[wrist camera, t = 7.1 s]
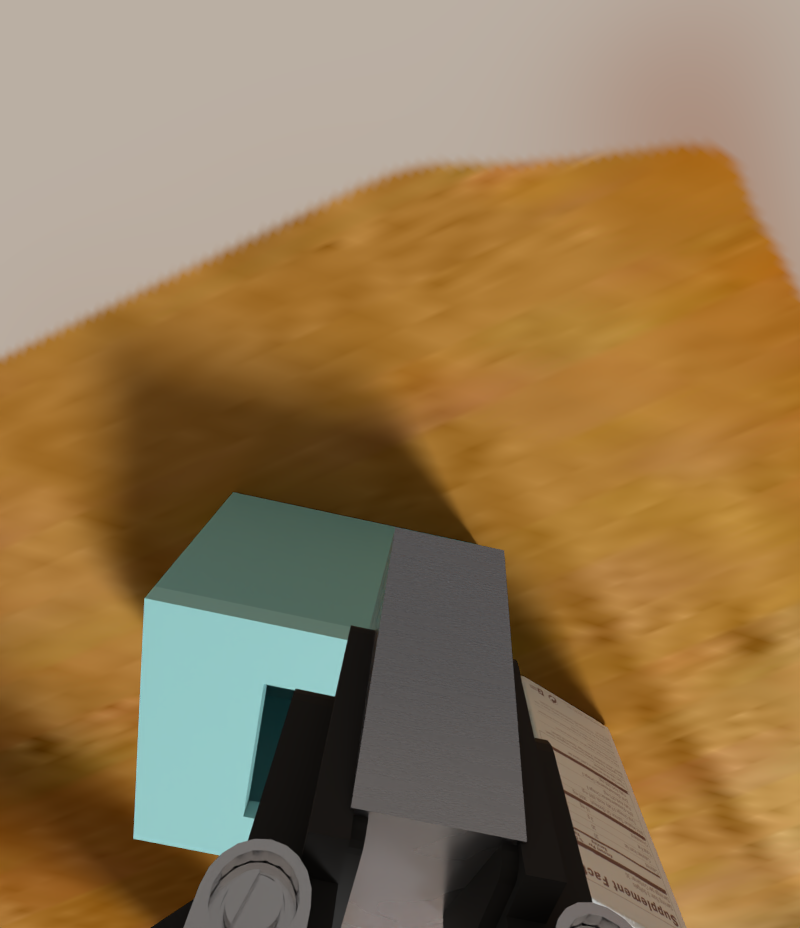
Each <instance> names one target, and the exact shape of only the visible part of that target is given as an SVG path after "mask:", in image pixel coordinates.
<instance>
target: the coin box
mask: <svg viewBox="0 0 800 928" xmlns="http://www.w3.org/2000/svg"><path fill="white" fill-rule="evenodd" d="M396 528H398V527H396ZM401 529H403V528H401ZM394 530H395V527H394V526H389V525H384V524H380V523H375V522H370V521H366V520H361V519H356V518H352V517H347V516H342V515H338V514H333V513H328V512H324V511H319V510H314V509H310V508H305V507H300V506H296V505H291V504H286V503H282V502H277V501H272V500H268V499H263V498H258V497H254V496H249V495H244V494H240V493H235V492H233V493H232V494H231V495H230V497H229V498H228V499H227V500H226V501H225V502H224V504H223V505H222V506H221V507H220V508H219V510H218V511H217V512H216V513H215V514H214V516H213V517H212V518H211V519H210V520H209V522H208V523H207V524H206V525H205V526H204V528H203V529H202V530H201V531H200V532H199V534H198V535H197V536H196V537H195V538H194V540H193V541H192V542H191V543H190V544H189V546H188V547H187V548H186V549H185V550H184V552H183V553H182V554H181V555H180V556H179V558H178V559H177V560H176V561H175V562H174V563H173V565H172V566H171V567H170V568H169V569H168V571H167V572H166V573H165V574H164V575H163V577H162V578H161V579H160V580H159V581H158V583H157V584H156V585H155V586H154V587H153V589H152V590H151V591H150V592H149V593H148V595H147V596H146V597H145V598H144V620H143V641H142V663H141V685H140V706H139V728H138V750H137V771H136V793H135V815H134V836H133V839H137V840H143V841H148V842H153V843H158V844H163V845H169V846H174V847H179V848H184V849H189V850H195V851H200V852H205V853H210V854H215V855H221V854H222V853H223V852H225V851H226V850H228V849H230V848H231V847H233V846H234V845H236V844H238V843H241V842H245V841H248V838H249V835H250V832H251V828H252V825H253V822H254V819H255V816H256V812H257V809H258V806H259V803H260V799H261V796H262V793H263V790H264V786H265V783H266V780H267V777H268V774H269V770H270V767H271V764H272V761H273V757H274V754H275V751H276V748H277V745H278V741H279V738H280V735H281V732H282V728H283V725H284V722H285V719H286V716H287V712H288V709H289V706H290V703H291V699H292V696H293V693H294V691H295V688H296V689H301V690H305V691H310V692H315V693H320V694H325V695H330V696H335V694H336V689H337V685H338V680H339V676H340V671H341V667H342V662H343V658H344V653H345V649H346V644H347V640H348V635H349V631H350V627H351V625H352V626H357V627H362V628H367V629H369V627H370V623H371V619H372V615H373V611H374V608H375V604H376V600H377V596H378V592H379V588H380V584H381V581H382V577H383V573H384V569H385V565H386V561H387V557H388V553H389V550H390V546H391V542H392V538H393V534H394ZM406 530H408V529H406ZM410 531H412V530H410ZM415 532H417V531H415ZM420 533H422V532H420ZM424 534H426V533H424ZM429 535H431V534H429ZM434 536H436V535H434ZM438 537H440V536H438ZM443 538H445V537H443ZM448 539H450V538H448ZM453 540H454V539H453ZM457 541H459V540H457ZM462 542H464V541H462ZM467 543H468V542H467ZM471 544H473V543H471ZM476 545H477V544H476Z"/></svg>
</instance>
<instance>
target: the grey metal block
mask: <svg viewBox="0 0 800 928" xmlns="http://www.w3.org/2000/svg"><path fill="white" fill-rule="evenodd" d="M369 629H371V630H375V635H374V643H373V650H372V657H371V664H370V671H369V679H368V686H367V693H366V700H365V707H364V715H363V722H362V729H361V736H360V743H359V751H358V758H357V765H356V772H355V779H354V787H353V794H352V801H351V808H350V809H351V810H354V815H358V816H363V817H368V825H367V832H366V837H365V843H364V848H363V852H362V856H361V859H360V863H359V866H358V870H357V873H356V877H355V880H354V884H353V887H352V891H351V894H350V898H349V901H348V905H347V908H346V912H345V915H344V919H343V922H342V926H341V928H443V913H444V912H445V911H446V910H447V908H448V907H449V906H450V905H451V904H452V902H453V901H454V900H455V899H456V898H457V896H458V895H459V894H460V893H461V892H462V890H463V889H464V888H465V887H466V886H467V884H468V883H469V882H470V881H471V880H472V878H473V877H474V876H475V875H476V874H477V872H478V871H479V870H480V869H481V868H482V866H483V865H484V864H485V863H486V862H487V860H488V859H489V858H490V857H491V856H492V854H493V853H494V852H495V851H496V850H497V848H498V847H499V846H500V845H501V844H506V845H511V846H516V847H518V845H519V844H520V843H524V844H526V843H527V835H526V822H525V810H524V797H523V785H522V772H521V759H520V747H519V734H518V721H517V709H516V696H515V684H514V671H513V658H512V646H511V633H510V620H509V608H508V595H507V583H506V570H505V557H504V550H499V549H495V548H490V547H485V546H481V545H476V544H471V543H467V542H462V541H457V540H453V539H448V538H443V537H438V536H434V535H429V534H424V533H420V532H415V531H410V530H406V529H401V528H396V527H395V530H394V534H393V538H392V542H391V546H390V550H389V553H388V557H387V561H386V565H385V569H384V573H383V577H382V581H381V584H380V588H379V592H378V596H377V600H376V604H375V608H374V611H373V615H372V619H371V623H370V627H369Z"/></svg>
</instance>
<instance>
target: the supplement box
mask: <svg viewBox="0 0 800 928" xmlns="http://www.w3.org/2000/svg"><path fill="white" fill-rule="evenodd" d="M521 680H522V685H523V689H524V693H525V698H526V702H527V707H528V711H529V716H530V720H531V725H532V729H533V733H534V738H539V739H544V740H548V741H549V743H550V744H551V745H552V748H553V751H554V754H555V758H556V762H557V766H558V770H559V773H560V777H561V781H562V785H563V789H564V793H565V797H566V801H567V804H568V808H569V812H570V816H571V820H572V824H573V828H574V832H575V835H576V839H577V843H578V847H579V851H580V855H581V859H582V863H583V866H584V870H585V874H586V878H587V882H588V886H589V890H590V893H591V897H592V901H593V903H595V904H598V905H601V906H604V907H607V908H609V909H610V910H612V911H613V912H615V913H616V914H618V915H619V916H621V917H622V918H624V919H625V920H626V921H627V922H628V923H629V924H630V925H631V926H632V927H633V928H686V926H685V923H684V921H683V918H682V916H681V913H680V910H679V908H678V905H677V903H676V900H675V898H674V895H673V893H672V890H671V888H670V885H669V882H668V880H667V877H666V875H665V872H664V870H663V867H662V865H661V862H660V859H659V857H658V854H657V852H656V849H655V847H654V844H653V842H652V839H651V837H650V834H649V832H648V829H647V826H646V824H645V821H644V819H643V816H642V814H641V811H640V808H639V806H638V803H637V801H636V798H635V796H634V793H633V791H632V788H631V785H630V783H629V780H628V778H627V775H626V773H625V770H624V767H623V765H622V762H621V760H620V757H619V755H618V752H617V749H616V747H615V744H614V742H613V739H612V737H611V734H610V732H609V730H608V728H607V727H606V726H604V725H602V724H601V723H600V722H598V721H597V720H595V719H593V718H592V717H590V716H588V715H587V714H585V713H584V712H582V711H580V710H579V709H577V708H575V707H574V706H572V705H570V704H569V703H567V702H566V701H564V700H562V699H561V698H559V697H557V696H556V695H554V694H553V693H551V692H549V691H548V690H546V689H544V688H543V687H541V686H539V685H538V684H536V683H534V682H533V681H531V680H529V679H527V678H526V677H524V676H521Z"/></svg>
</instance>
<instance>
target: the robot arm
mask: <svg viewBox="0 0 800 928" xmlns="http://www.w3.org/2000/svg"><path fill="white" fill-rule="evenodd" d="M374 635H375V630H371V629H367V628H362V627H357V626H352V625H351V627H350V631H349V635H348V640H347V644H346V649H345V653H344V658H343V662H342V667H341V671H340V676H339V680H338V685H337V689H336V694H335V696H330V695H325V694H320V693H315V692H310V691H305V690H301V689H296V688H295V691H294V693H293V696H292V699H291V703H290V706H289V709H288V712H287V716H286V719H285V722H284V725H283V728H282V732H281V735H280V738H279V741H278V745H277V748H276V751H275V754H274V757H273V761H272V764H271V767H270V770H269V774H268V777H267V780H266V783H265V786H264V790H263V793H262V796H261V799H260V803H259V806H258V809H257V812H256V816H255V819H254V822H253V825H252V828H251V832H250V835H249V838H248V841H245V842H241V843H238V844H236V845H234V846H233V847H231V848H230V849H228V850H226V851H225V852H223V853H222V854H221V855H220V856H219V857H218V858H217V859H216V860H215V861H214V862H213V863H212V864H211V866H210V867H209V868H208V870H207V872H206V874H205V876H204V877H203V879H202V881H201V883H200V885H199V887H198V890H197V893H196V895H195V898H194V899H193V900H192V901H190V902H189V903H187V904H186V905H184V906H183V907H181V908H180V909H178V910H177V911H175V912H174V913H172V914H171V915H169V916H168V917H166V918H165V919H163V920H162V921H160V922H159V923H157V924H156V925H154V926H153V927H151V928H341V926H342V922H343V919H344V915H345V912H346V908H347V905H348V901H349V898H350V894H351V891H352V887H353V884H354V880H355V877H356V873H357V870H358V866H359V863H360V859H361V856H362V852H363V848H364V843H365V837H366V832H367V825H368V817H363V816H358V815H354V810H351V809H350V808H351V801H352V794H353V787H354V779H355V772H356V765H357V758H358V751H359V743H360V736H361V729H362V722H363V715H364V707H365V700H366V693H367V686H368V679H369V671H370V664H371V657H372V650H373V643H374ZM513 671H514V684H515V696H516V709H517V721H518V734H519V747H520V759H521V772H522V785H523V797H524V810H525V822H526V835H527V843H526V844H524V843H520V844H519V845H518V847H516V846H511V845H506V844H501V845H500V846H499V847H498V848H497V850H496V851H495V852H494V853H493V854H492V856H491V857H490V858H489V859H488V860H487V862H486V863H485V864H484V865H483V866H482V868H481V869H480V870H479V871H478V872H477V874H476V875H475V876H474V877H473V878H472V880H471V881H470V882H469V883H468V884H467V886H466V887H465V888H464V889H463V890H462V892H461V893H460V894H459V895H458V896H457V898H456V899H455V900H454V901H453V902H452V904H451V905H450V906H449V907H448V908H447V910H446V911H445V912H444V913H443V928H633V927H632V926H631V925H630V924H629V923H628V922H627V921H626V920H625V919H624V918H622V917H621V916H619V915H618V914H616V913H615V912H613V911H612V910H610V909H609V908H607V907H604V906H601V905H598V904H595V903H593V901H592V897H591V893H590V890H589V886H588V882H587V878H586V874H585V870H584V866H583V863H582V859H581V855H580V851H579V847H578V843H577V839H576V835H575V832H574V828H573V824H572V820H571V816H570V812H569V808H568V804H567V801H566V797H565V793H564V789H563V785H562V781H561V777H560V773H559V770H558V766H557V762H556V758H555V754H554V751H553V748H552V745H551V744H550V743H549V741H548V740H544V739H539V738H534V733H533V729H532V725H531V720H530V716H529V711H528V707H527V702H526V698H525V693H524V689H523V685H522V680H521V676H520V671H519V667H518V663H517V661H516V660H514V659H513Z"/></svg>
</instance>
